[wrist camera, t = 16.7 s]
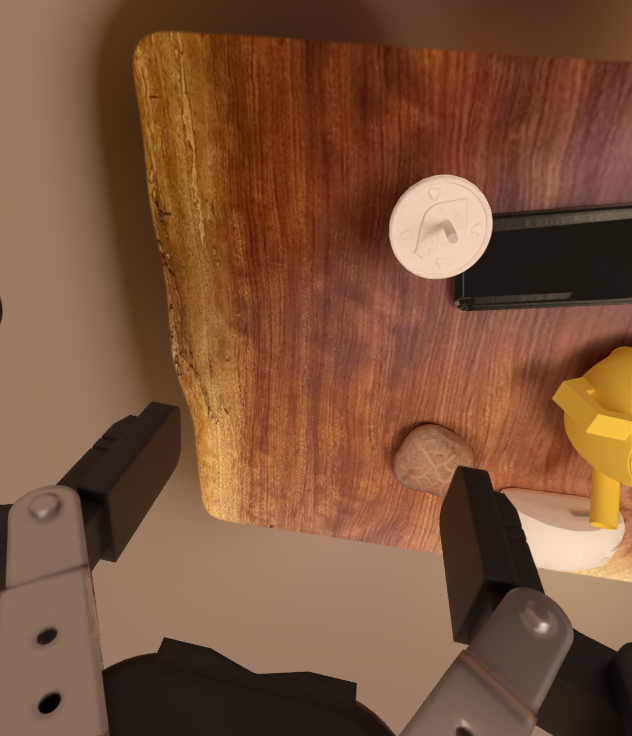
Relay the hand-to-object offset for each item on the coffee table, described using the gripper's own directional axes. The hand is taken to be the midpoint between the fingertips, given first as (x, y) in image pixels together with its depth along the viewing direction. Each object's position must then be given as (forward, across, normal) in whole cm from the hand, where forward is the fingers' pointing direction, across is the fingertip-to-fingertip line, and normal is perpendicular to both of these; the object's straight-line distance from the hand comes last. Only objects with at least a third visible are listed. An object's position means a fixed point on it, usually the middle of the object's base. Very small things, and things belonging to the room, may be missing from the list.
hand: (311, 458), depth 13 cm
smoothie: (+30, -5, -4) cm, 30 cm away
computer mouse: (+30, -26, +26) cm, 47 cm away
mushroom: (+30, -11, +21) cm, 38 cm away
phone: (+29, -15, -1) cm, 33 cm away
